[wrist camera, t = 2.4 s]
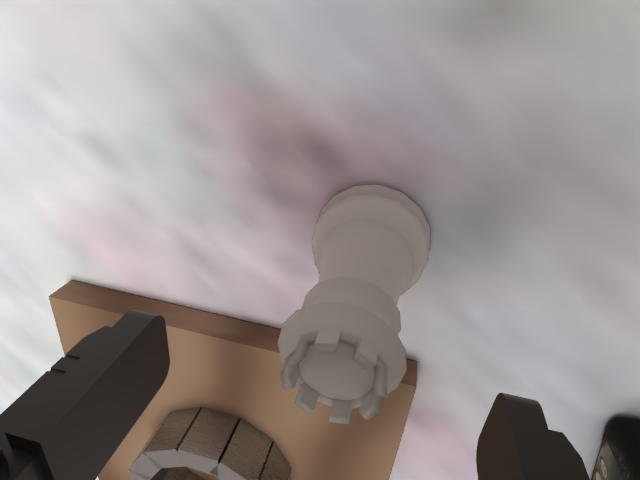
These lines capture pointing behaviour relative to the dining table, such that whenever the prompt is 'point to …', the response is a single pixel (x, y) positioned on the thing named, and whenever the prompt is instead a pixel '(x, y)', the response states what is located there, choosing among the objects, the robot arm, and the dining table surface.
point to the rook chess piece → (355, 303)
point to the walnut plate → (238, 388)
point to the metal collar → (209, 449)
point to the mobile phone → (619, 451)
